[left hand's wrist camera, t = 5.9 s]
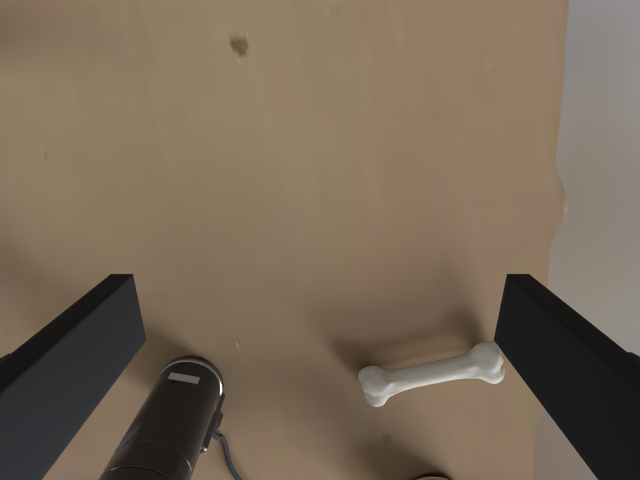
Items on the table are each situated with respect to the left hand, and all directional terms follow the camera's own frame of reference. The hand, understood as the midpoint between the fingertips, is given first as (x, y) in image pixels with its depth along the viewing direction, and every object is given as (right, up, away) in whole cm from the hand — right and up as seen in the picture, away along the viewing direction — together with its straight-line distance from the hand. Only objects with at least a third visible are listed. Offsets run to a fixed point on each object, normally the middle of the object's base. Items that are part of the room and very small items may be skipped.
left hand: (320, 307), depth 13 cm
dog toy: (+16, -16, +41) cm, 46 cm away
